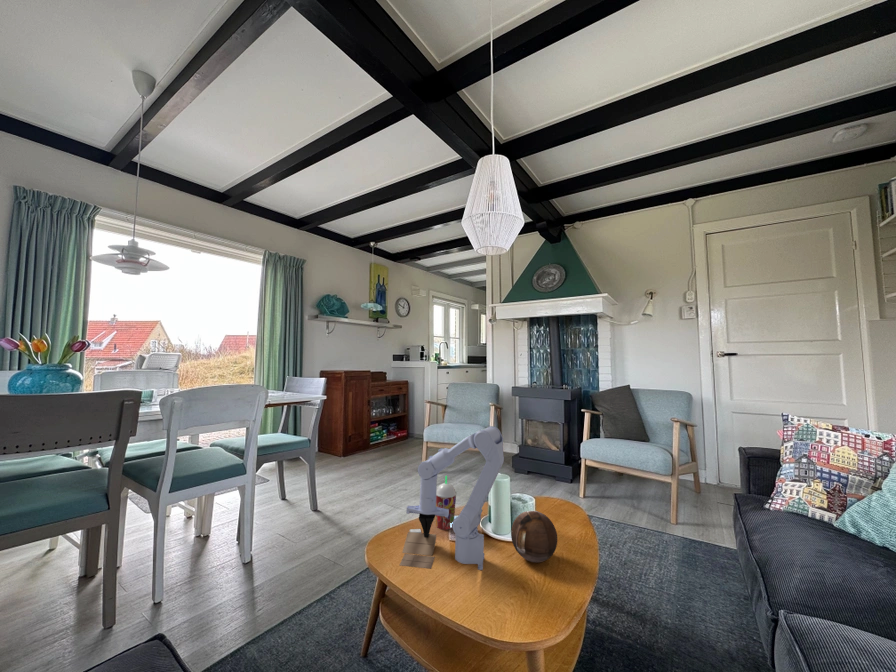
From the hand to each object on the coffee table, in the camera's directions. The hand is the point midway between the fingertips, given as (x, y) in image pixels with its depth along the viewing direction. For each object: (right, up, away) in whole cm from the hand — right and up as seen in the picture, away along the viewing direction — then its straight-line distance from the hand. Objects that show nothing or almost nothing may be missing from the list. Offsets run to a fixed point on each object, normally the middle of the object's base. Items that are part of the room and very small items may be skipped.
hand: (426, 536), depth 122 cm
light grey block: (-5, -5, +9) cm, 12 cm away
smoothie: (+6, -6, +15) cm, 17 cm away
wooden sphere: (+36, -5, -4) cm, 36 cm away
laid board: (-2, -4, -10) cm, 11 cm away
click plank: (-2, -2, -2) cm, 4 cm away
